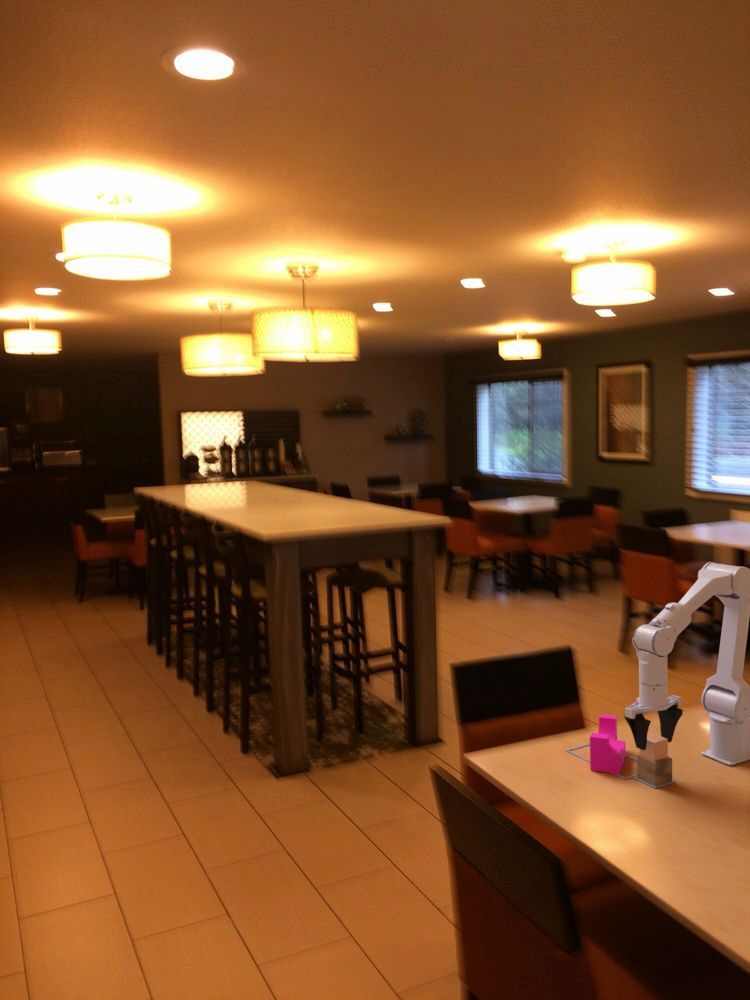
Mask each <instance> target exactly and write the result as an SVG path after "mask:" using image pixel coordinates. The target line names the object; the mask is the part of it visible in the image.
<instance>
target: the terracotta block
mask: <svg viewBox="0 0 750 1000" xmlns="http://www.w3.org/2000/svg"><path fill="white" fill-rule="evenodd" d="M668 744H669V742H668V739H666V738H664V737H661V735H659V734H656V733H653V732H652V733H649V734H648V733H647V746H646V750H641V749H639V755H640V756H643V757H645V758H647V759H650V760H652V761H658V760H661V759H664V758H667V757H669V756H668V755H669V751H668V750H669V749H668V748H669V747H668Z"/></svg>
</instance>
